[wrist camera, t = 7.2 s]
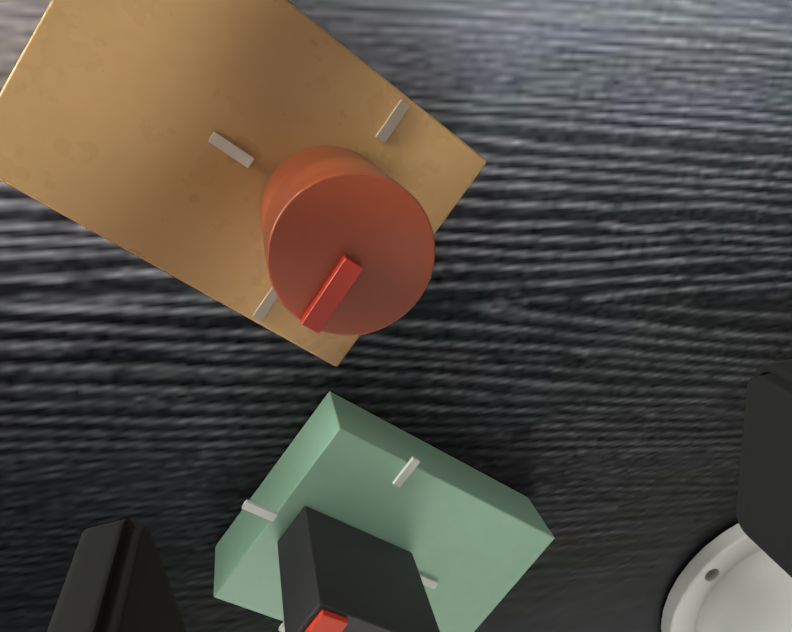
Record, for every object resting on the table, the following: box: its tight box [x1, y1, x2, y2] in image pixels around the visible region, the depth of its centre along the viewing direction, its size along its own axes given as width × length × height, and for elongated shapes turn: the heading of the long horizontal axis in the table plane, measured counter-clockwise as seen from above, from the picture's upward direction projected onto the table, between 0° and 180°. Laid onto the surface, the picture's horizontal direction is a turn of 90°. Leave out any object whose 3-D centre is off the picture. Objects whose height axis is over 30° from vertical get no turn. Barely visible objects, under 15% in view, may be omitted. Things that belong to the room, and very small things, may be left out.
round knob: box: [260, 146, 435, 336], centre depth 19 cm, size 4×4×5 cm
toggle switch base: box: [214, 391, 554, 632], centre depth 28 cm, size 13×10×3 cm
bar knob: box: [277, 506, 440, 632], centre depth 24 cm, size 6×2×5 cm, turn 54°
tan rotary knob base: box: [0, 0, 486, 367], centre depth 21 cm, size 14×9×3 cm, turn 53°
